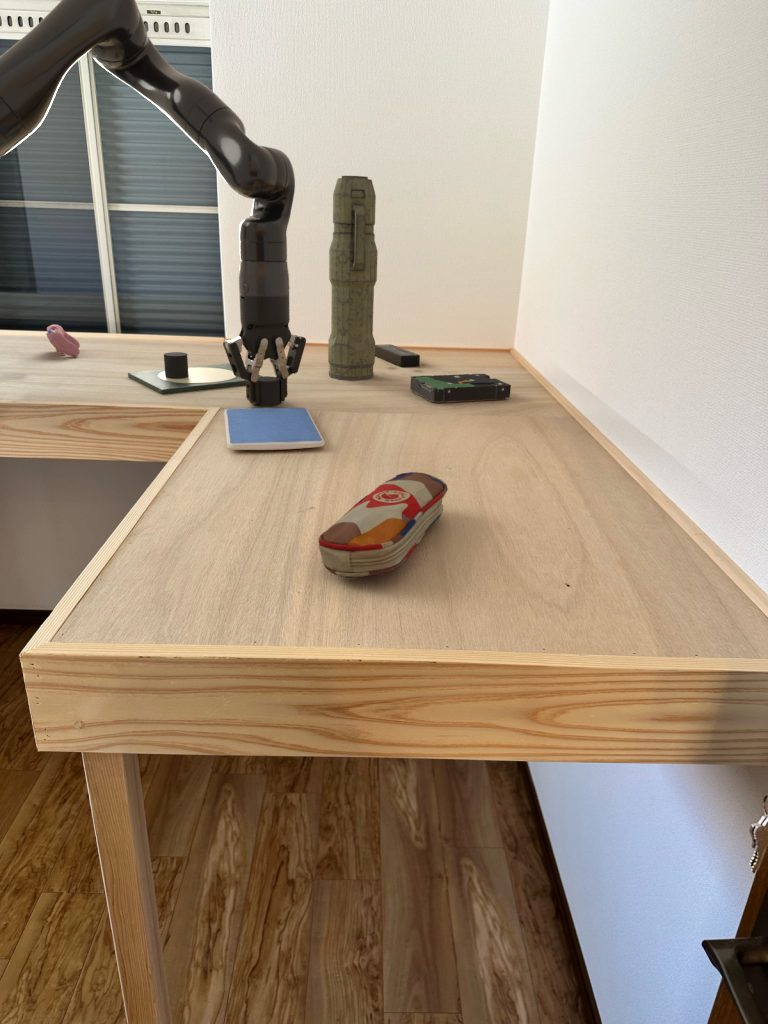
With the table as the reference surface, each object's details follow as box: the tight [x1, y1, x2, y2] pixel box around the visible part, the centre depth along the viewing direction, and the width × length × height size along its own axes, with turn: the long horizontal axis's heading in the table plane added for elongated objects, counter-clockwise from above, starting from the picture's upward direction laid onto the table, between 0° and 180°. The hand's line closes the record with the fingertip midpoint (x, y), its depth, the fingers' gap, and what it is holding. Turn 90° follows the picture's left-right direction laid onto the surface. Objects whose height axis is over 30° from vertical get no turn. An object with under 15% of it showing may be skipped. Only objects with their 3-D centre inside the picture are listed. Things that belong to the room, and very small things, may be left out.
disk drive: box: [409, 373, 512, 403], centre depth 127 cm, size 10×3×15 cm
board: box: [127, 363, 263, 395], centre depth 132 cm, size 20×16×1 cm
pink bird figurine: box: [45, 324, 81, 357], centre depth 151 cm, size 10×5×7 cm, turn 21°
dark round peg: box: [163, 351, 189, 379], centre depth 129 cm, size 4×4×4 cm
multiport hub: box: [375, 343, 421, 368], centre depth 157 cm, size 4×14×2 cm, turn 25°
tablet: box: [223, 407, 326, 451], centre depth 101 cm, size 19×13×1 cm, turn 13°
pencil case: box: [318, 471, 449, 580], centre depth 67 cm, size 11×20×5 cm, turn 146°
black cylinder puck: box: [257, 375, 281, 407], centre depth 117 cm, size 4×4×4 cm
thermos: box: [327, 175, 378, 381], centre depth 134 cm, size 9×12×35 cm
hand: (267, 401), depth 117 cm, fingers closed on black cylinder puck, 4 cm apart
